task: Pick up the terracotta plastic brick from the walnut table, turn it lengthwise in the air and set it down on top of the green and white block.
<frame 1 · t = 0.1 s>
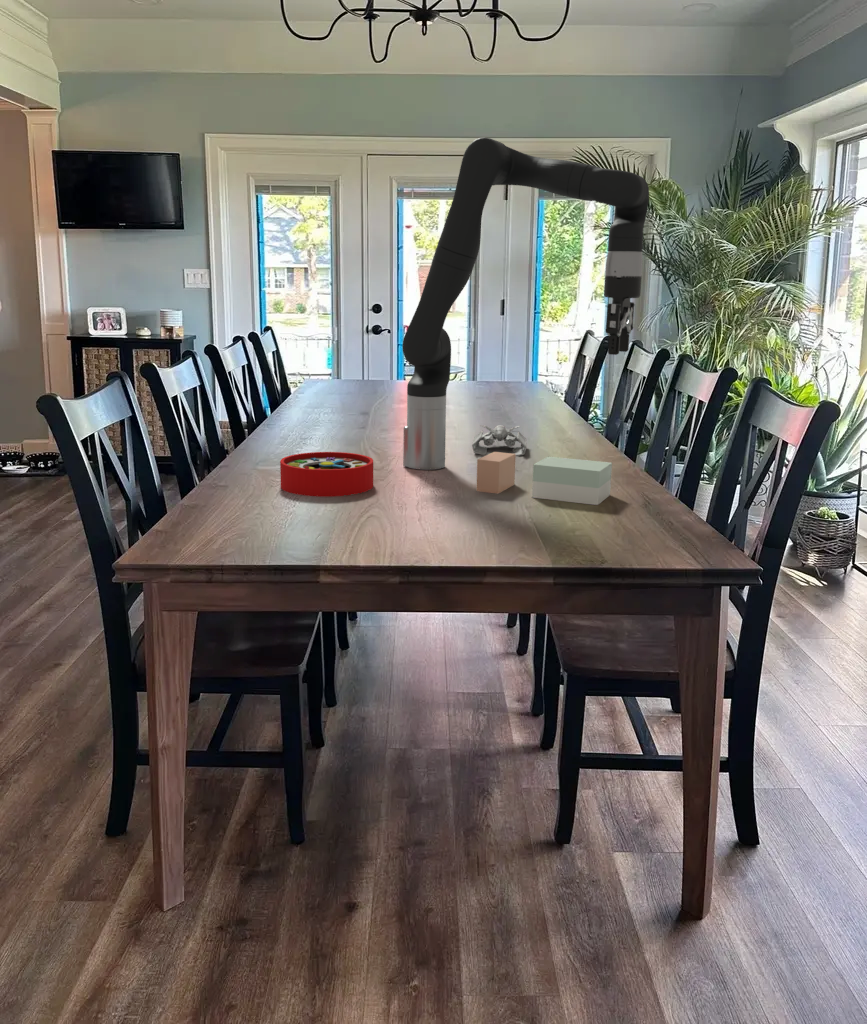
hand: (618, 352, 198), 29 cm above the table, fingers open, 8 cm apart
spaceship toy: (499, 452, 246), on the table
green and white block: (571, 496, 196), on the table
terracotta brick: (495, 488, 203), on the table
toy clock: (327, 487, 202), on the table
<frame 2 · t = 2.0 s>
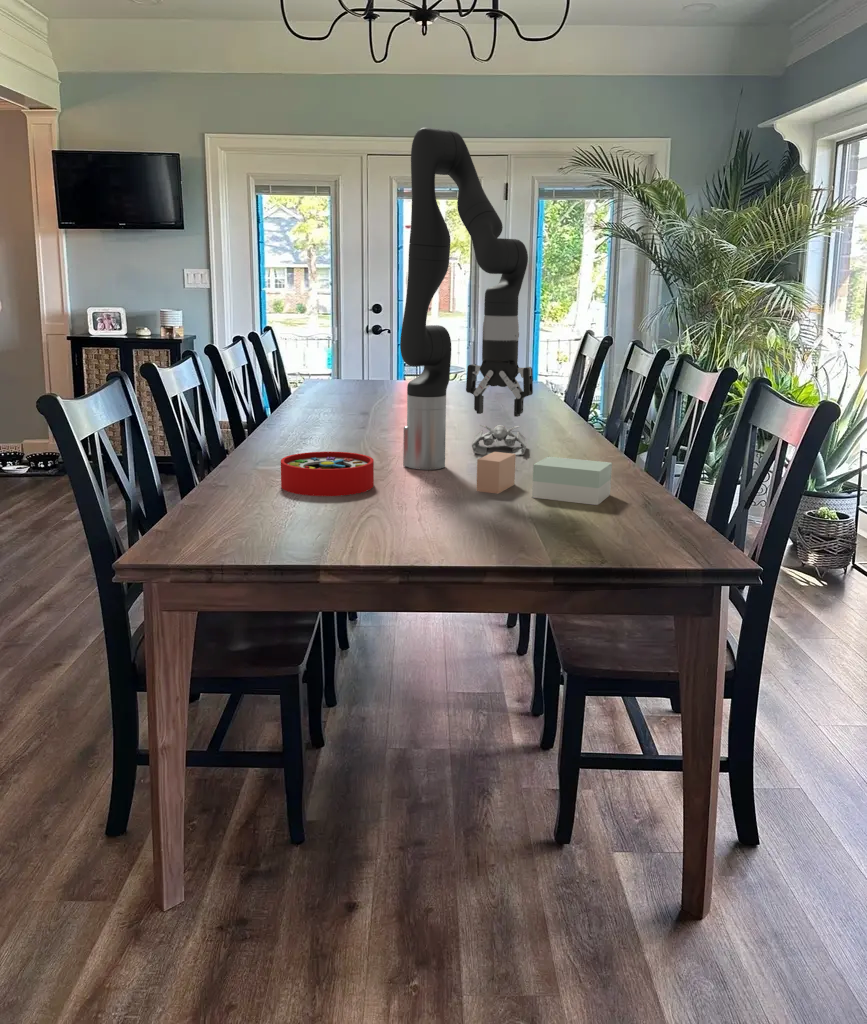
hand: (498, 414, 198), 16 cm above the table, fingers open, 8 cm apart
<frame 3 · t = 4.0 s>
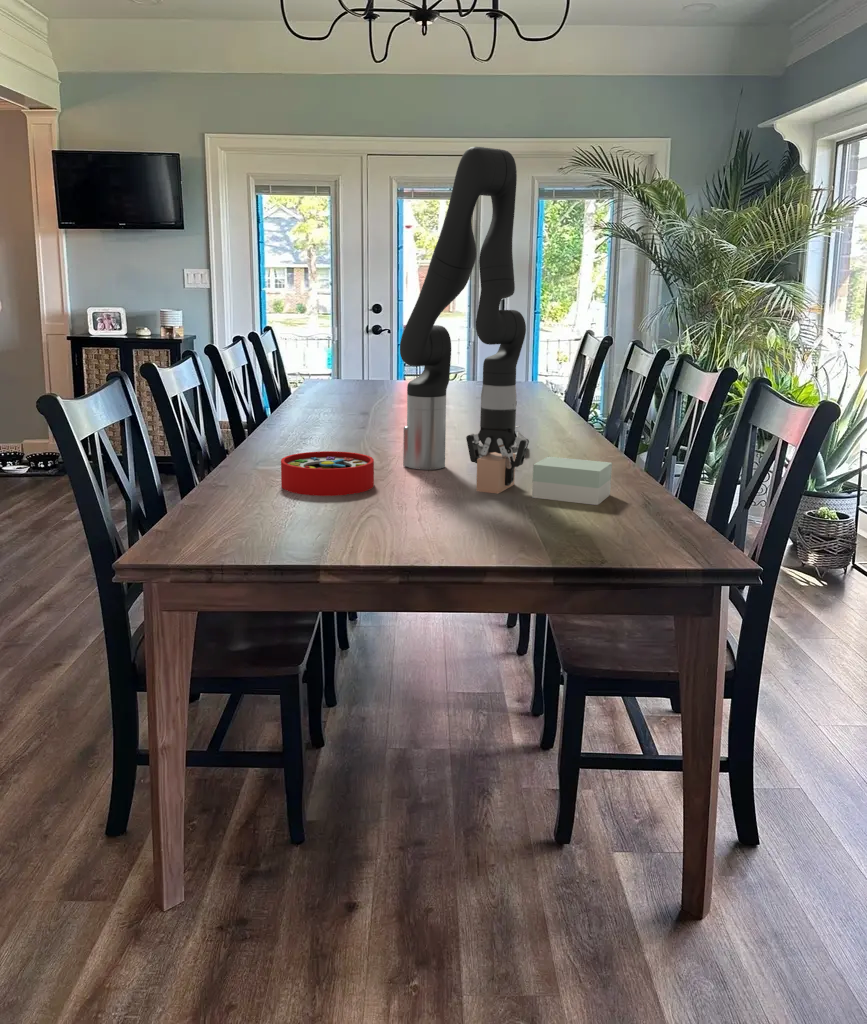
hand: (495, 483, 202), 1 cm above the table, fingers closed on terracotta brick, 5 cm apart
terracotta brick: (495, 487, 202), on the table, touching gripper
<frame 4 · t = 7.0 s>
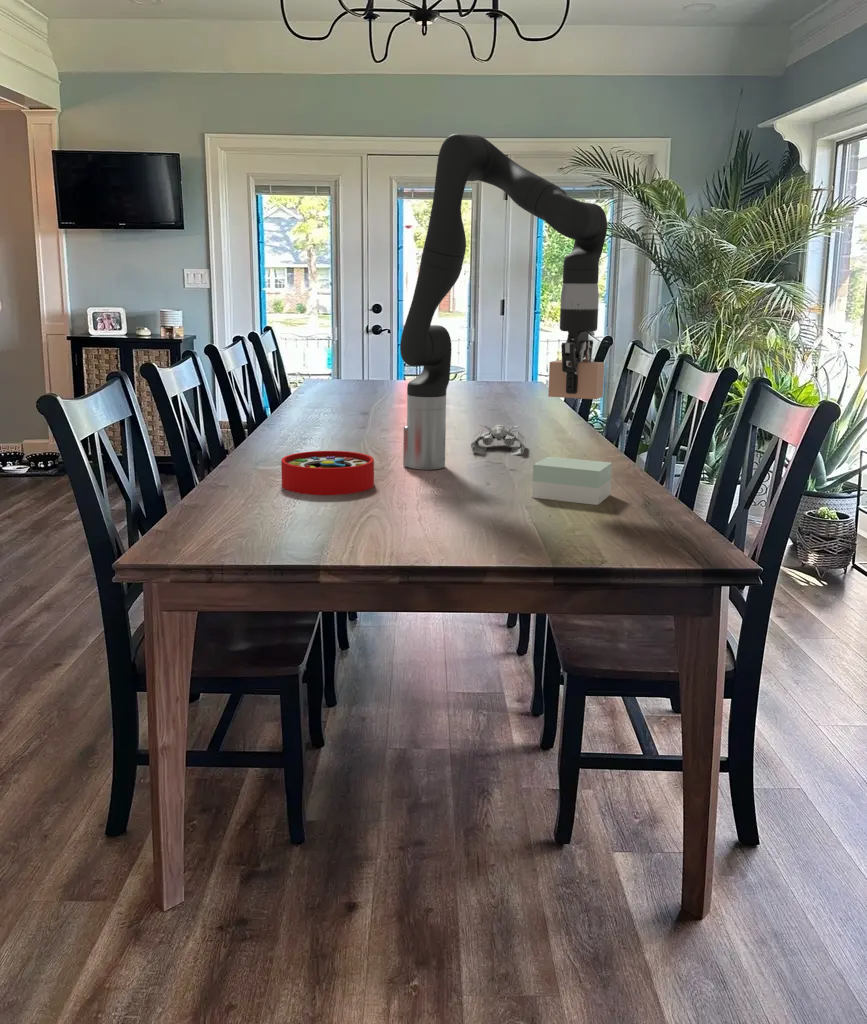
hand: (575, 391, 190), 22 cm above the table, fingers closed on terracotta brick, 5 cm apart
terracotta brick: (575, 396, 190), point 21 cm above the table, touching gripper
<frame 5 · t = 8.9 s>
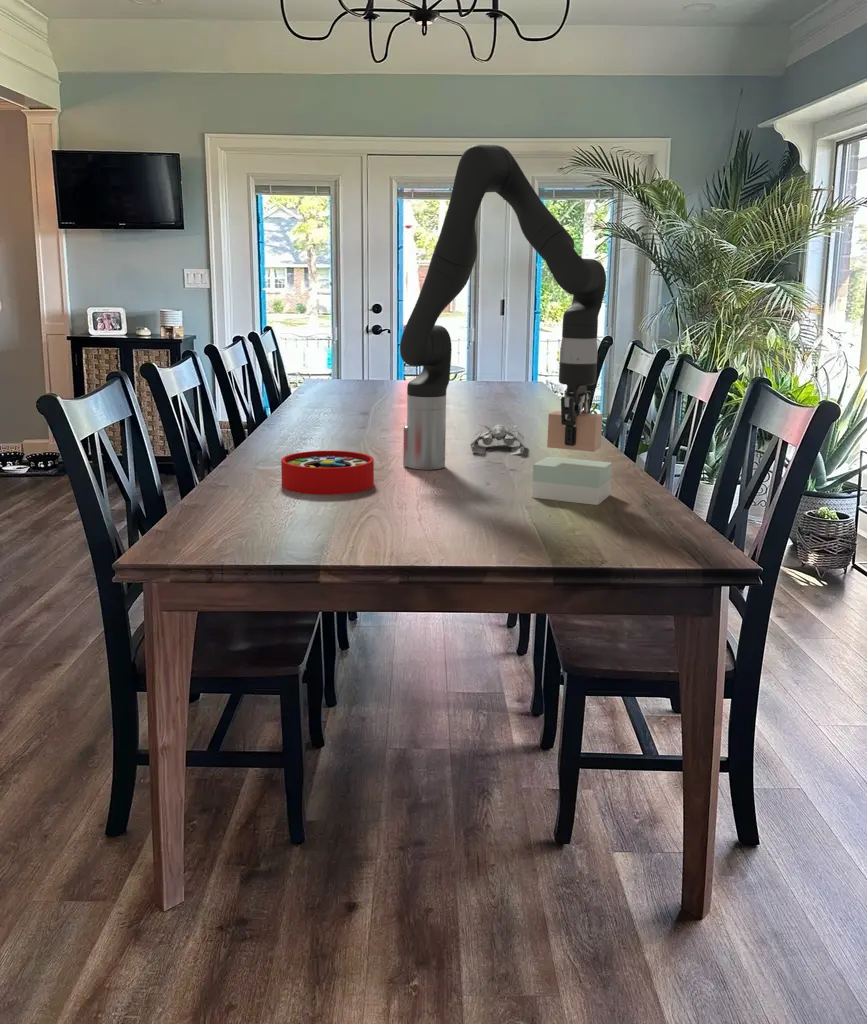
hand: (574, 442, 193), 11 cm above the table, fingers closed on terracotta brick, 5 cm apart
terracotta brick: (573, 447, 193), point 10 cm above the table, touching gripper
when the fingers open (9 cm above the table, at t = 10.2 s): terracotta brick drops 1 cm, resting on green and white block.
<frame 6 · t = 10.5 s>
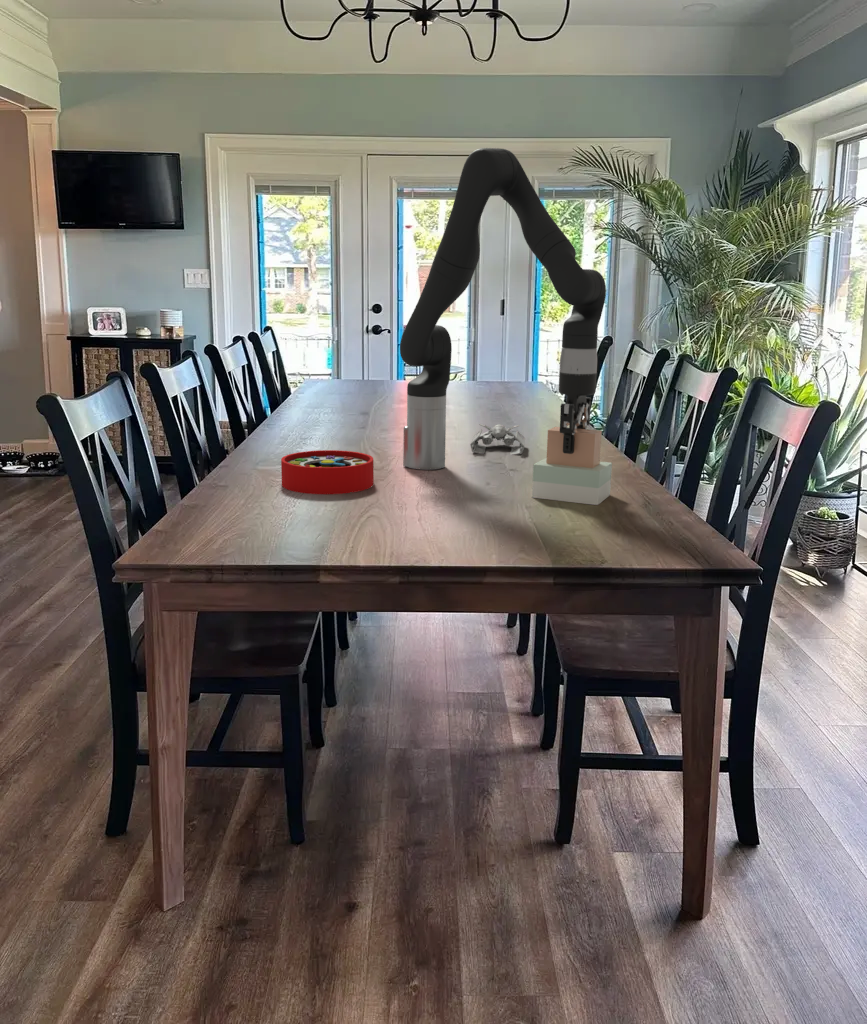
hand: (573, 450, 193), 10 cm above the table, fingers open, 7 cm apart
terracotta brick: (573, 463, 194), point 7 cm above the table, touching green and white block
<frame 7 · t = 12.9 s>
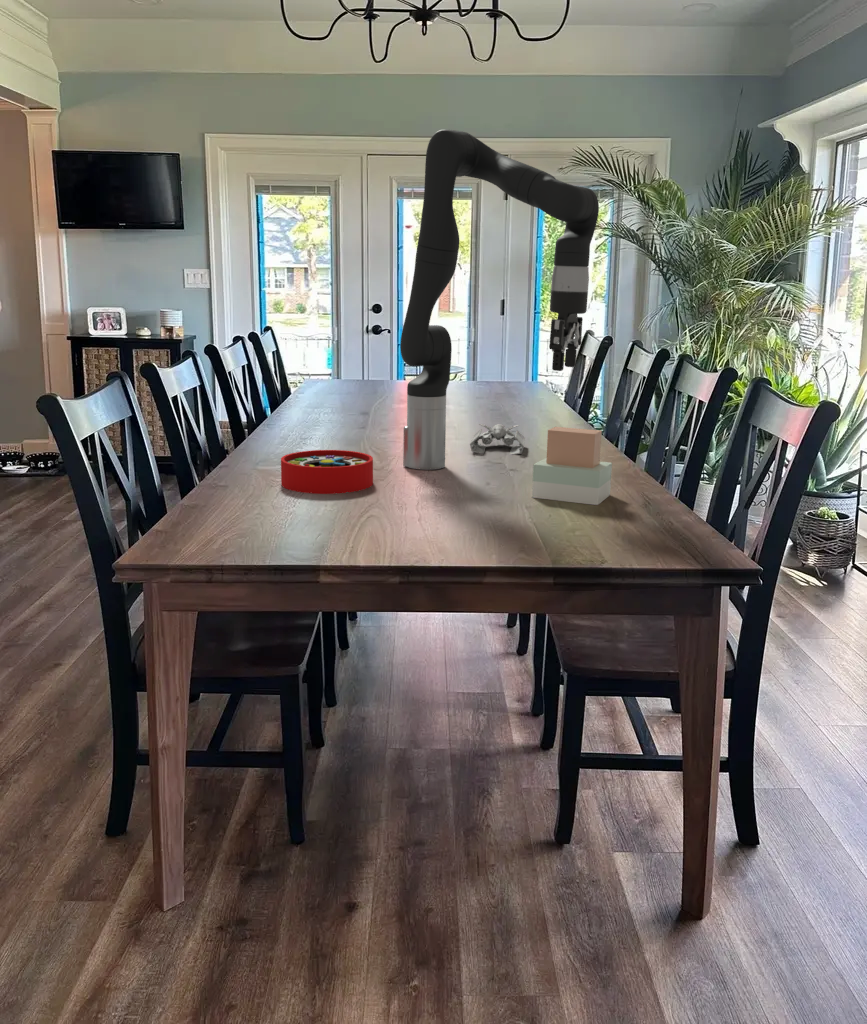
hand: (563, 368, 195), 26 cm above the table, fingers open, 8 cm apart
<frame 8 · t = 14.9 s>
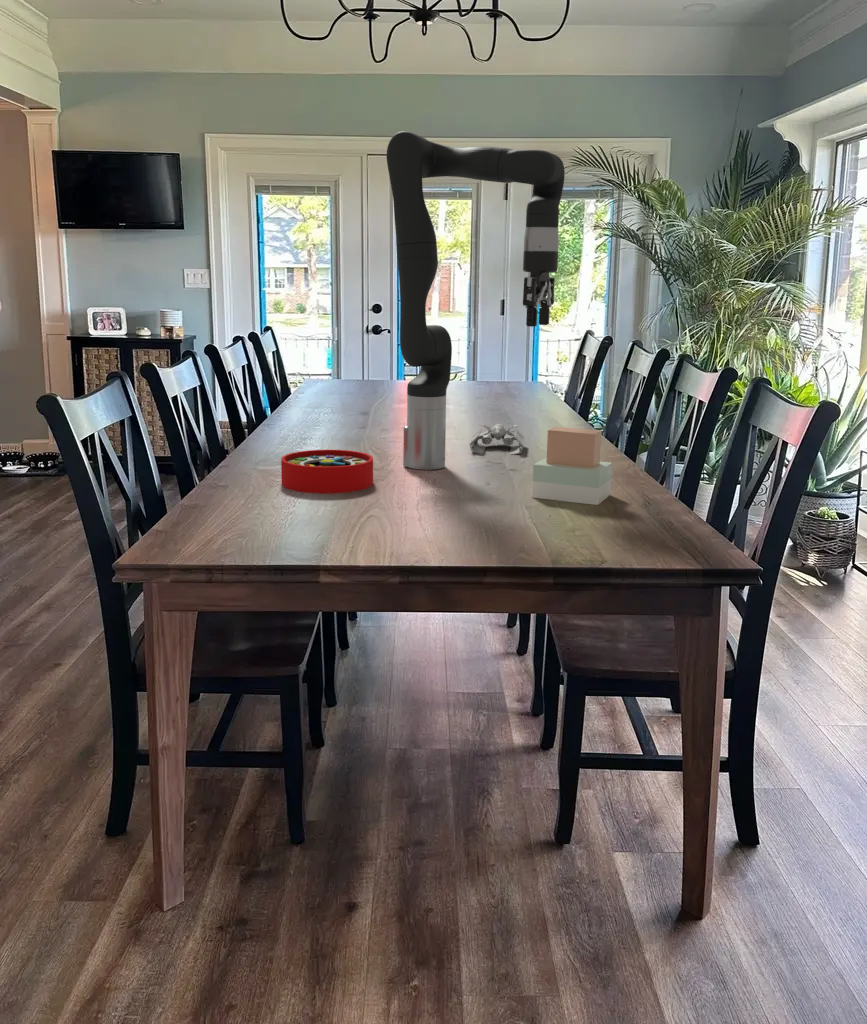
hand: (537, 325, 206), 34 cm above the table, fingers open, 8 cm apart
at the end: terracotta brick inside the target area on the green and white block (0.0 cm from its centre), point 7.0 cm above the green and white block's base; terracotta brick tilted 0°; the gripper is holding nothing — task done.
